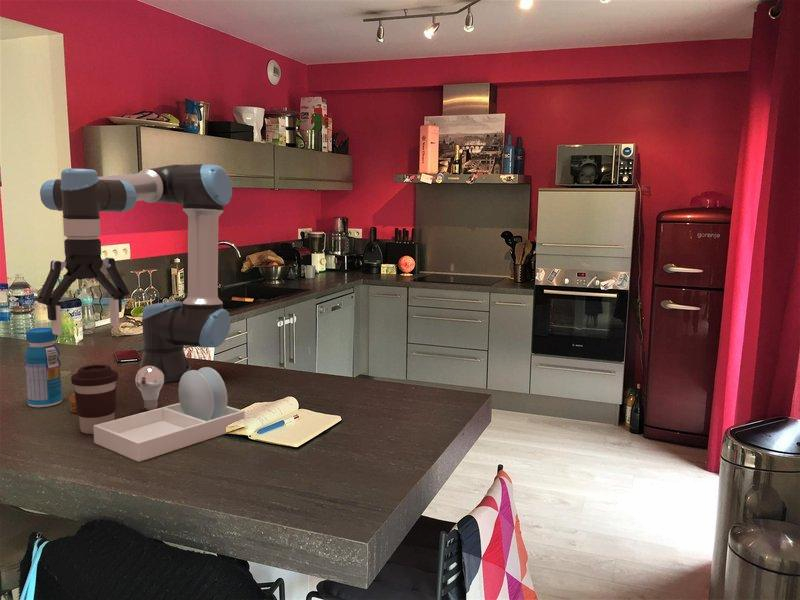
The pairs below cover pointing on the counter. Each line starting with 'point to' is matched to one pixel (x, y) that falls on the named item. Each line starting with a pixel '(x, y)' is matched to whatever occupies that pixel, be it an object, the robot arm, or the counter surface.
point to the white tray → (160, 431)
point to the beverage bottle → (42, 368)
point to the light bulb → (150, 385)
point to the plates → (203, 394)
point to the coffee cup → (95, 395)
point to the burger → (73, 403)
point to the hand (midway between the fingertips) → (87, 330)
